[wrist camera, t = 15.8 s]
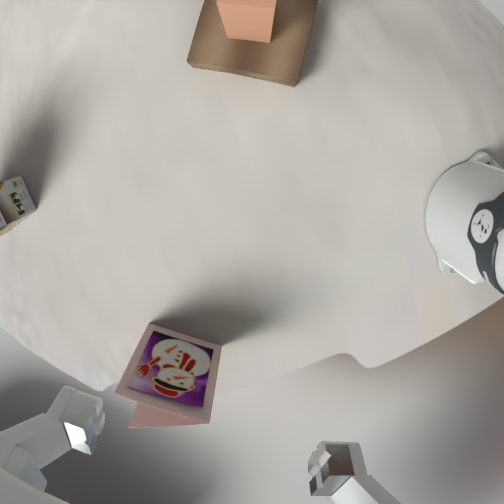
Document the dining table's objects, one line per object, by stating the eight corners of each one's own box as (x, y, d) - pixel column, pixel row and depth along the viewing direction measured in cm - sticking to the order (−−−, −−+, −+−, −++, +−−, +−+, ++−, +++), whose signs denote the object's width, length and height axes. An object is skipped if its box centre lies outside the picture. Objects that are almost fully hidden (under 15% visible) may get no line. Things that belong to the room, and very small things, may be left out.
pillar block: (275, 8, 27) (282, -34, 17) (269, 43, 28) (274, 8, 19) (234, 4, 27) (226, -39, 17) (227, 38, 28) (216, 2, 19)
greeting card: (223, 341, 46) (211, 419, 32) (211, 374, 49) (198, 449, 35) (150, 318, 45) (114, 388, 31) (143, 353, 48) (113, 422, 34)
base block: (314, 4, 29) (319, -8, 26) (293, 87, 34) (297, 82, 30) (218, -14, 29) (213, -27, 25) (194, 68, 33) (186, 61, 29)
